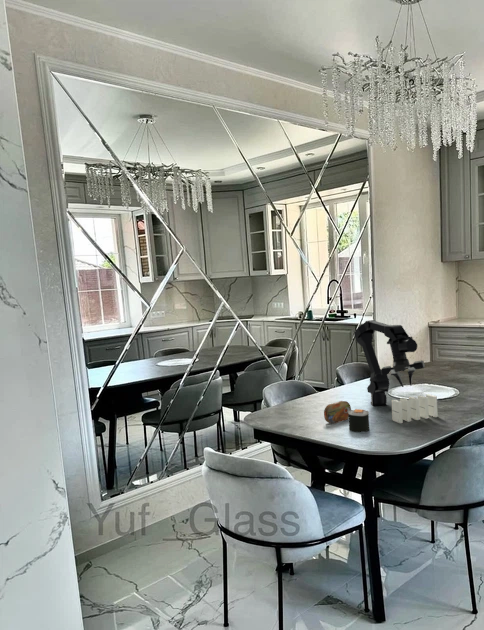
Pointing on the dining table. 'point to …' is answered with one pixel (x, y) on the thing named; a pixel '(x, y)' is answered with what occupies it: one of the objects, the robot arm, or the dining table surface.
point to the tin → (337, 412)
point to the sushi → (358, 420)
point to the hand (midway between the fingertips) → (407, 386)
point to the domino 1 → (397, 411)
